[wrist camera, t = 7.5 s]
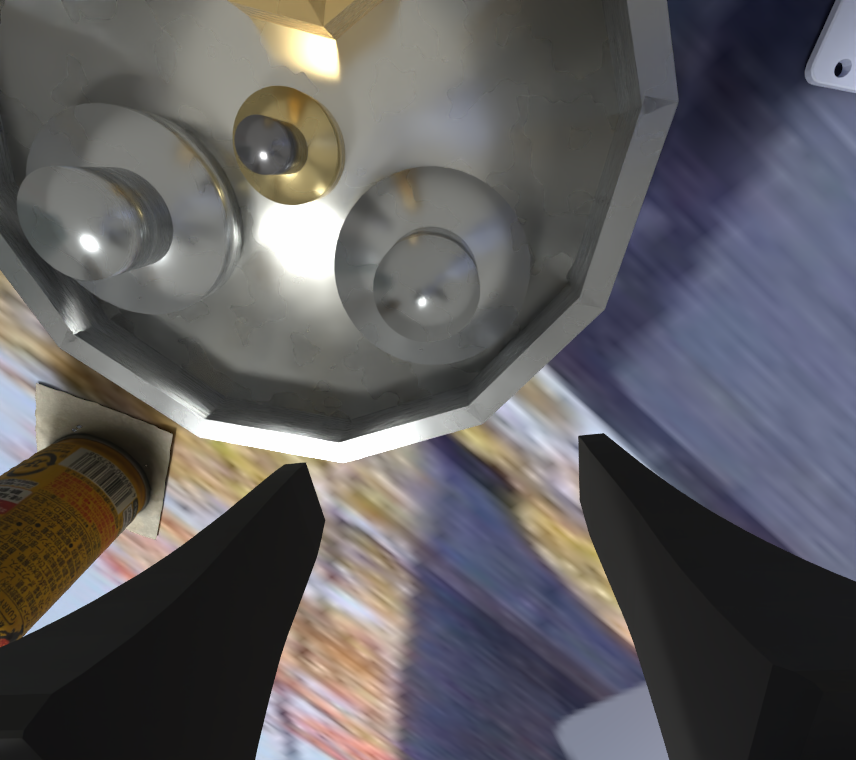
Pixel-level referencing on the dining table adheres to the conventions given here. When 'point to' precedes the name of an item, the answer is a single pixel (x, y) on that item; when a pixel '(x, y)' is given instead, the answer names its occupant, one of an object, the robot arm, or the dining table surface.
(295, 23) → the brass octagonal knob
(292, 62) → the tray
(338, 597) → the dining table surface
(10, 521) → the condiment
